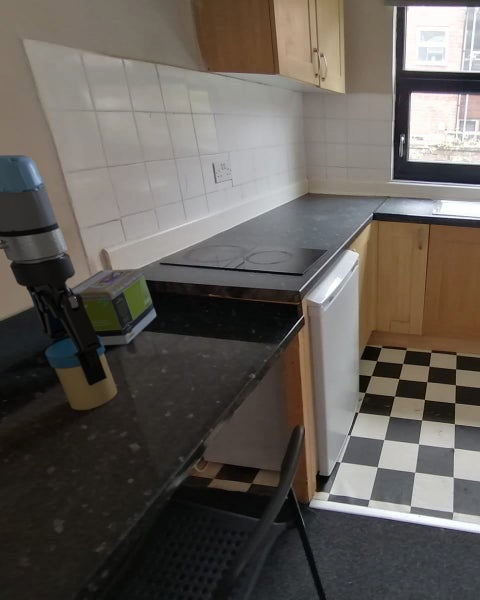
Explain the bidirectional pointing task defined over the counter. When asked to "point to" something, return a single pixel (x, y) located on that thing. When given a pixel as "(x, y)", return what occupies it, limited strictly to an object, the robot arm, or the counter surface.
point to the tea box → (117, 304)
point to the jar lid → (66, 354)
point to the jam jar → (86, 387)
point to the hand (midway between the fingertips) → (85, 374)
